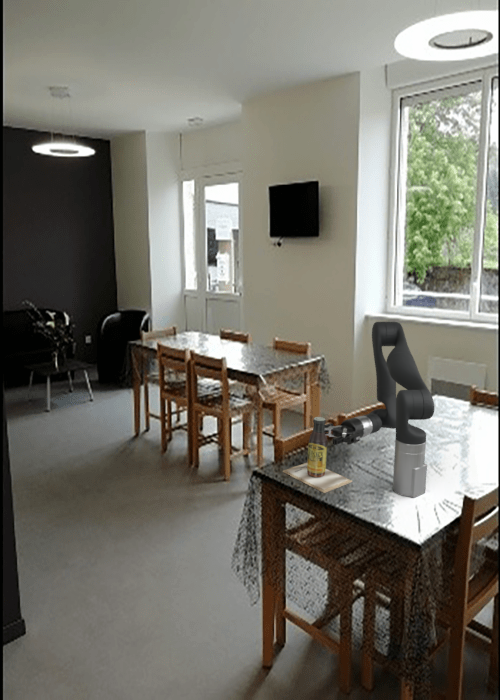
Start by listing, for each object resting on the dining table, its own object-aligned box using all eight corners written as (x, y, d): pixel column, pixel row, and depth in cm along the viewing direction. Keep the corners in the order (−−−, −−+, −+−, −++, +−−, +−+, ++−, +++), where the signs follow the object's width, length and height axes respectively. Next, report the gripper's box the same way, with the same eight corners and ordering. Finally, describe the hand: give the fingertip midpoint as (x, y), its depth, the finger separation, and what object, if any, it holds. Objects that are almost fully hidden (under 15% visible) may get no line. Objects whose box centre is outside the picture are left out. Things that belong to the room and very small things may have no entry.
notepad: (352, 482, 185) (352, 479, 185) (324, 493, 177) (324, 491, 177) (310, 462, 200) (310, 460, 200) (282, 472, 193) (282, 470, 192)
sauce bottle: (304, 476, 188) (305, 419, 184) (311, 469, 193) (312, 414, 189) (322, 479, 185) (324, 422, 181) (329, 472, 190) (330, 417, 186)
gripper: (342, 412, 202) (309, 422, 192) (372, 423, 191) (340, 433, 181) (341, 432, 204) (309, 442, 194) (372, 443, 193) (339, 455, 183)
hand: (324, 438), depth 188 cm, fingers open, 8 cm apart
